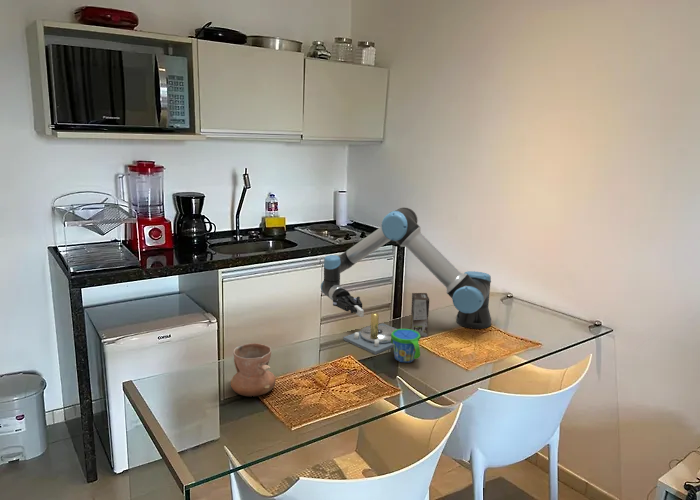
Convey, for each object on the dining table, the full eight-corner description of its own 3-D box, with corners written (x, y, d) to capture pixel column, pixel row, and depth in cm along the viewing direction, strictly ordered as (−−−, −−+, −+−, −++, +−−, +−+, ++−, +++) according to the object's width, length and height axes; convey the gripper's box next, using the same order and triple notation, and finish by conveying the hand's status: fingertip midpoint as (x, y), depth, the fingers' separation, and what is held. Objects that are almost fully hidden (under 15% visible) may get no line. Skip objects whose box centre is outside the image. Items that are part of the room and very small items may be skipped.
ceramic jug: (286, 392, 174) (286, 351, 170) (249, 407, 164) (247, 364, 161) (255, 373, 186) (254, 335, 183) (219, 387, 176) (217, 347, 173)
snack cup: (427, 365, 194) (429, 339, 192) (402, 370, 190) (403, 344, 187) (406, 348, 208) (407, 324, 205) (382, 352, 204) (383, 328, 201)
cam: (385, 326, 226) (386, 300, 223) (404, 339, 213) (406, 312, 210) (354, 332, 219) (354, 305, 216) (372, 346, 206) (373, 318, 203)
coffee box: (427, 336, 220) (429, 299, 216) (412, 336, 220) (413, 299, 216) (425, 328, 228) (427, 292, 224) (410, 327, 229) (411, 292, 225)
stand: (414, 338, 218) (414, 329, 217) (375, 354, 202) (375, 345, 201) (382, 325, 230) (382, 317, 229) (343, 339, 215) (343, 331, 214)
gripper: (352, 302, 241) (376, 320, 220) (326, 305, 236) (347, 324, 215) (353, 286, 239) (376, 303, 219) (326, 289, 234) (347, 306, 213)
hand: (362, 313), depth 217 cm, fingers closed
